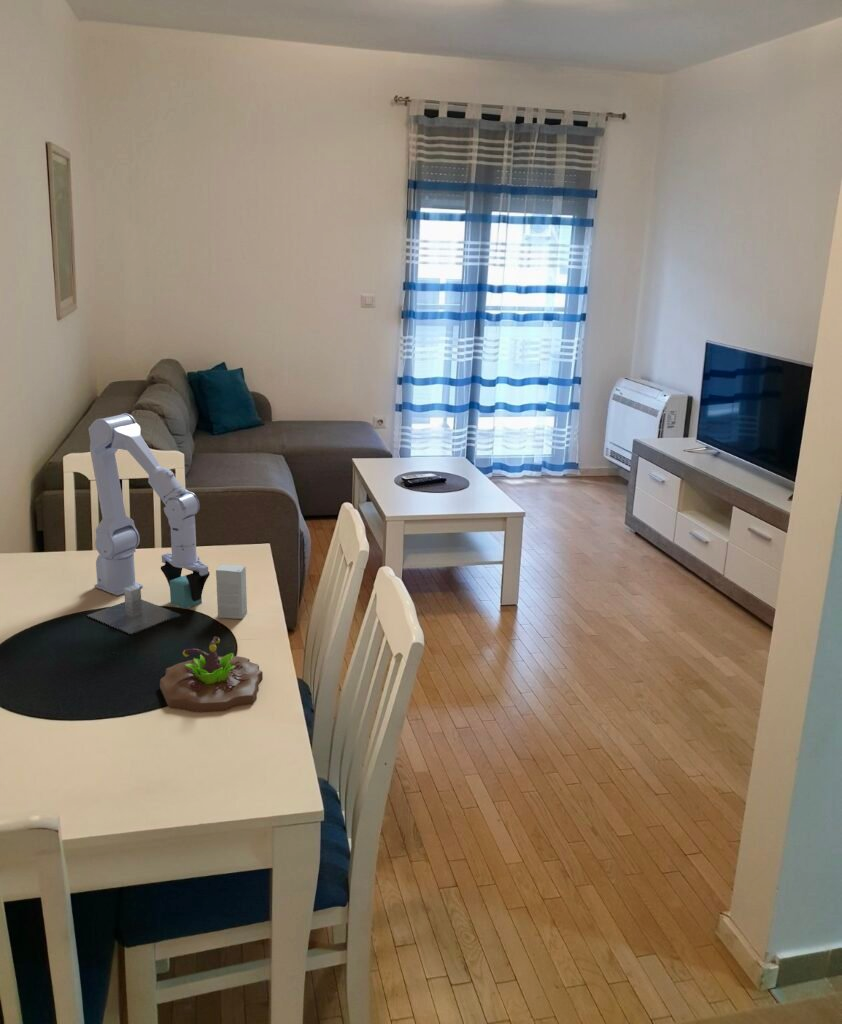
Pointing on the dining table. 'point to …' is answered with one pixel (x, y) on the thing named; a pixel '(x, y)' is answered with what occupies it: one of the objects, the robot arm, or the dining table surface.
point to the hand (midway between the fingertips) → (186, 596)
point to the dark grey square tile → (133, 613)
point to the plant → (211, 682)
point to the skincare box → (231, 591)
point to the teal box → (182, 593)
